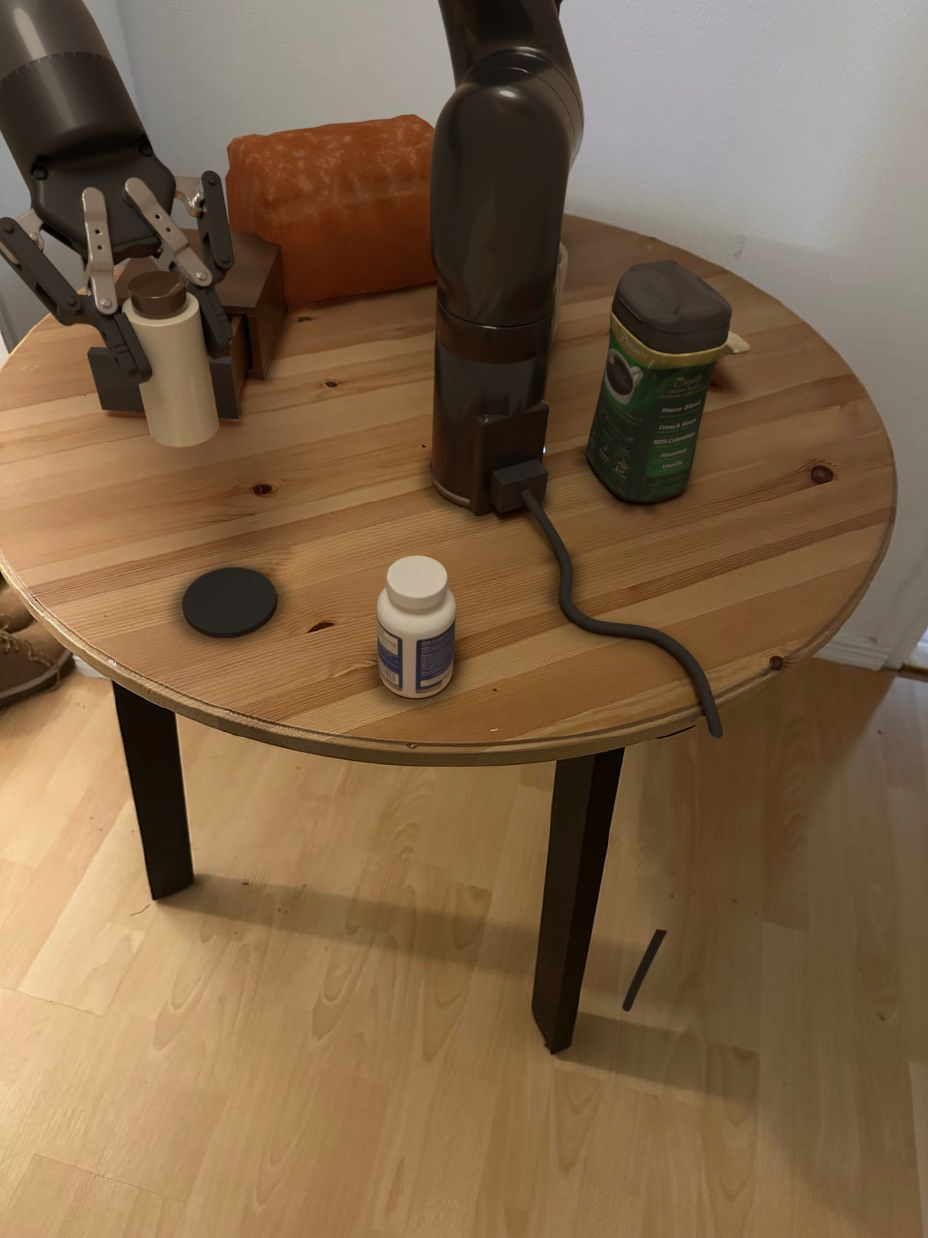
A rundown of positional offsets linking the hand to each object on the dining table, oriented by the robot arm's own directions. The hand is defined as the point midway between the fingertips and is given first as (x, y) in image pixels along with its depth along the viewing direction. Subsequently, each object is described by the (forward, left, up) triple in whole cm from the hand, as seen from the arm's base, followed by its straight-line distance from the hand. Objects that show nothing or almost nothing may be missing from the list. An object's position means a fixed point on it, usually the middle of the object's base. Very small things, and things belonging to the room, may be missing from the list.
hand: (184, 365), depth 57 cm
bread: (+47, -29, -21) cm, 59 cm away
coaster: (0, 0, -21) cm, 21 cm away
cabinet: (+38, -10, -21) cm, 45 cm away
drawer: (+30, -5, -20) cm, 37 cm away
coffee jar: (+1, -38, -21) cm, 44 cm away
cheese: (+14, -53, -21) cm, 59 cm away
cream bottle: (+2, 0, -6) cm, 6 cm away
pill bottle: (-12, -10, -21) cm, 26 cm away
